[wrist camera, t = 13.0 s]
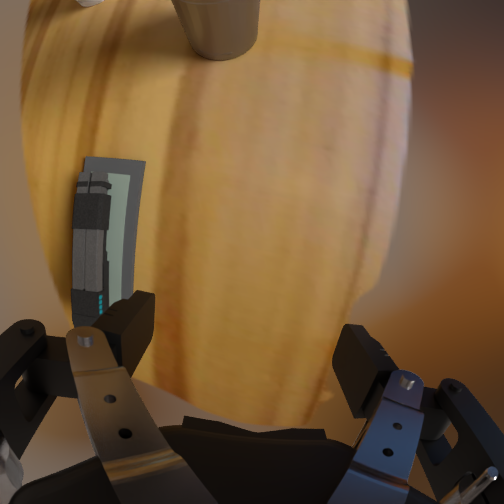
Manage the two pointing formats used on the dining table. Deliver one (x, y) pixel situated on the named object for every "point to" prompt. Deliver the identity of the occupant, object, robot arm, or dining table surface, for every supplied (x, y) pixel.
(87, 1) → the bottle
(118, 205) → the charging mat
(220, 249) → the dining table surface
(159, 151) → the dining table surface
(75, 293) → the gun
